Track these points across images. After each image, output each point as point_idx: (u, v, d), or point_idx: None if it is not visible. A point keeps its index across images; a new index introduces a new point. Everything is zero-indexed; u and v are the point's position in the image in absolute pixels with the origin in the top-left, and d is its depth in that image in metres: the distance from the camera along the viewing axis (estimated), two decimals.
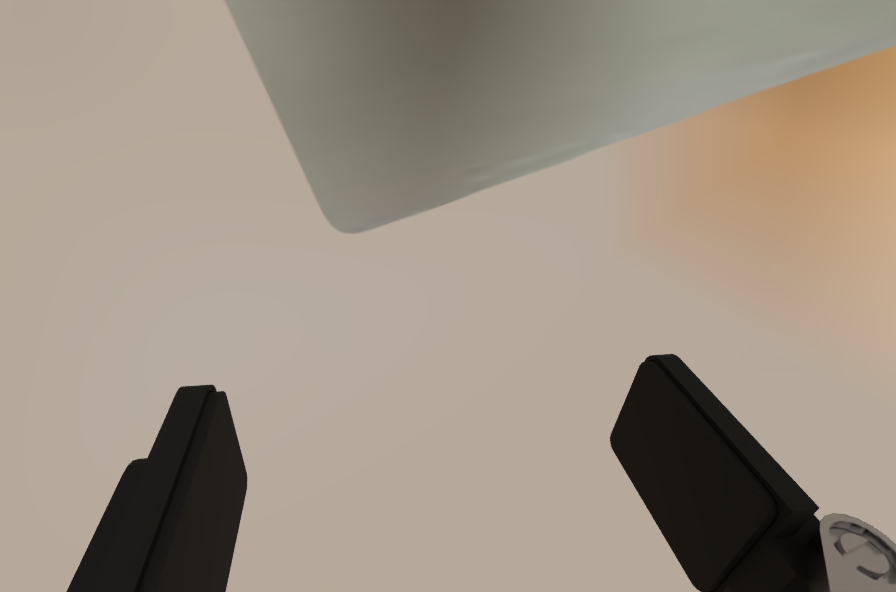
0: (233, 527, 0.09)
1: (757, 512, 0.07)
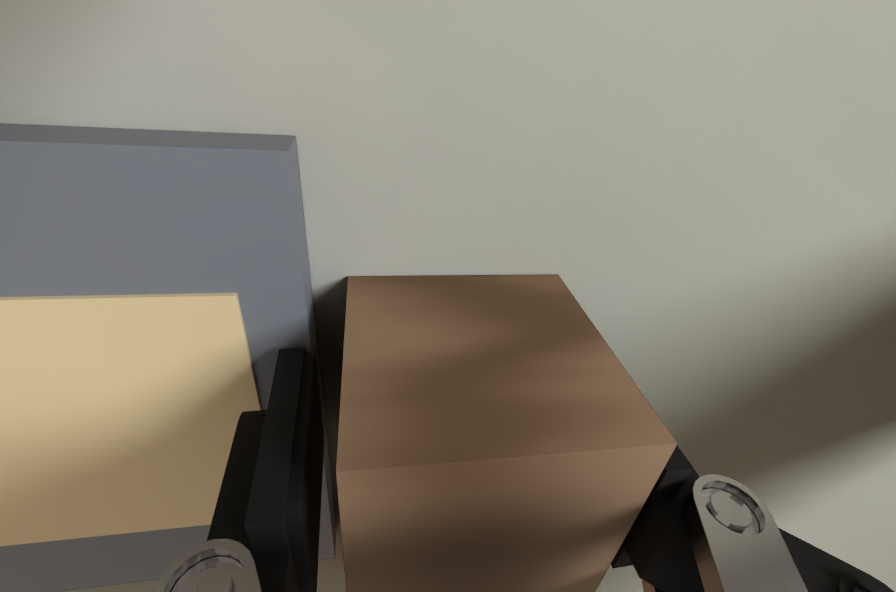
0: (320, 475, 0.10)
1: None
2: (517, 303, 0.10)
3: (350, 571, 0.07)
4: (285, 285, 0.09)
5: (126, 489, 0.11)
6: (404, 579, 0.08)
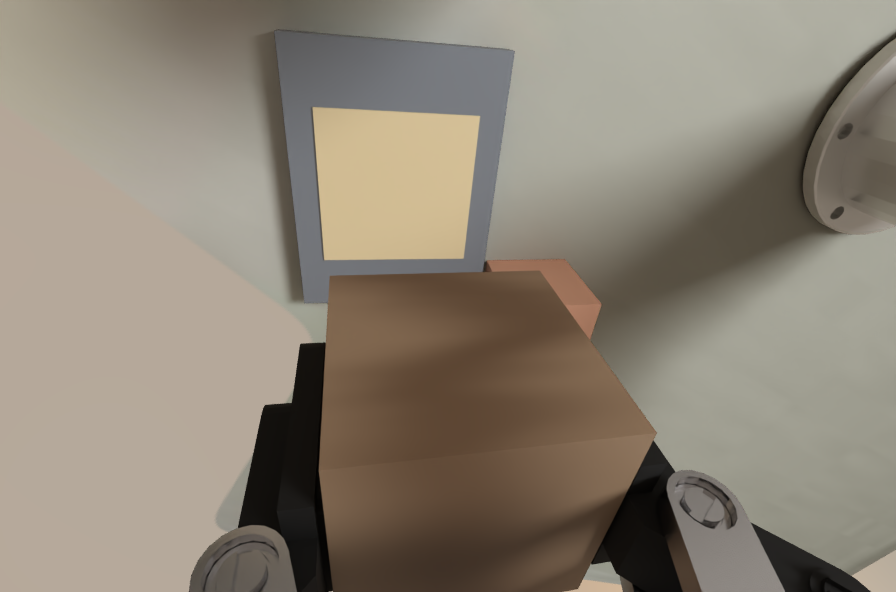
0: None
1: None
2: (499, 299, 0.10)
3: (336, 570, 0.07)
4: (498, 113, 0.21)
5: (402, 227, 0.23)
6: (391, 577, 0.08)
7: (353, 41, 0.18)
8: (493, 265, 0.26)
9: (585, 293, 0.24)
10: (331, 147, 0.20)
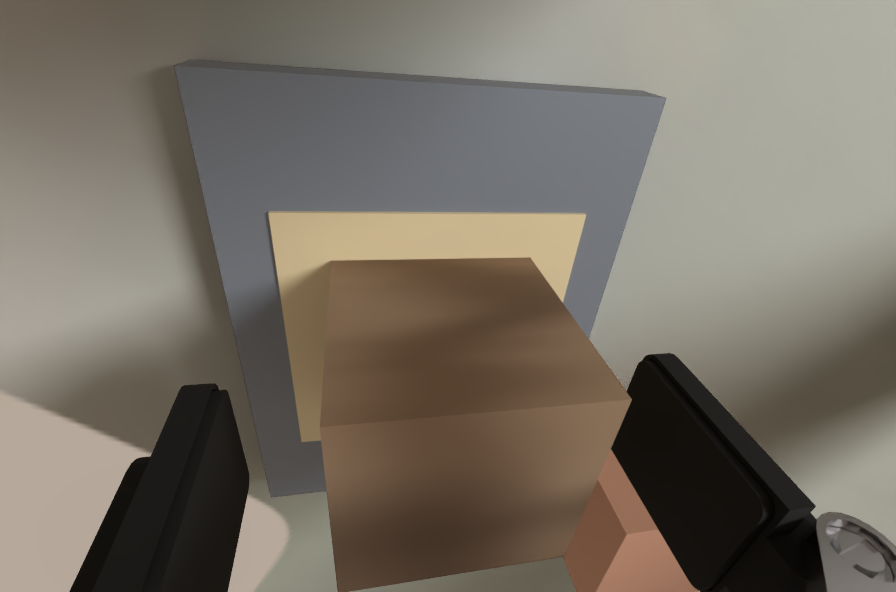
0: (235, 525, 0.09)
1: (754, 510, 0.07)
2: (491, 282, 0.10)
3: (336, 528, 0.08)
4: (619, 207, 0.11)
5: None
6: (387, 536, 0.08)
7: (348, 86, 0.09)
8: None
9: None
10: (309, 277, 0.11)
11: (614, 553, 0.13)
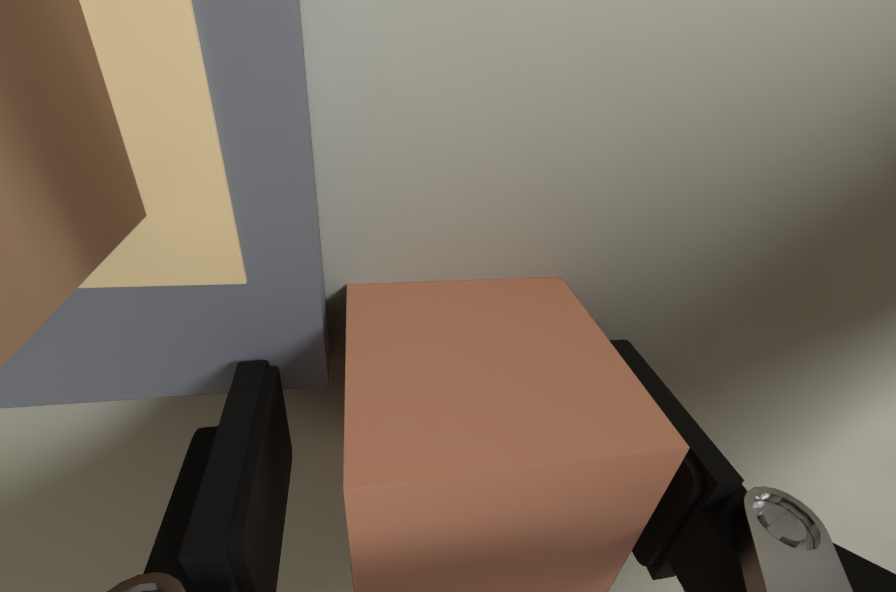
0: (284, 493, 0.09)
1: (688, 486, 0.08)
2: None
3: None
4: None
5: None
6: None
7: None
8: (359, 299, 0.09)
9: (627, 397, 0.07)
10: None
11: (348, 533, 0.06)
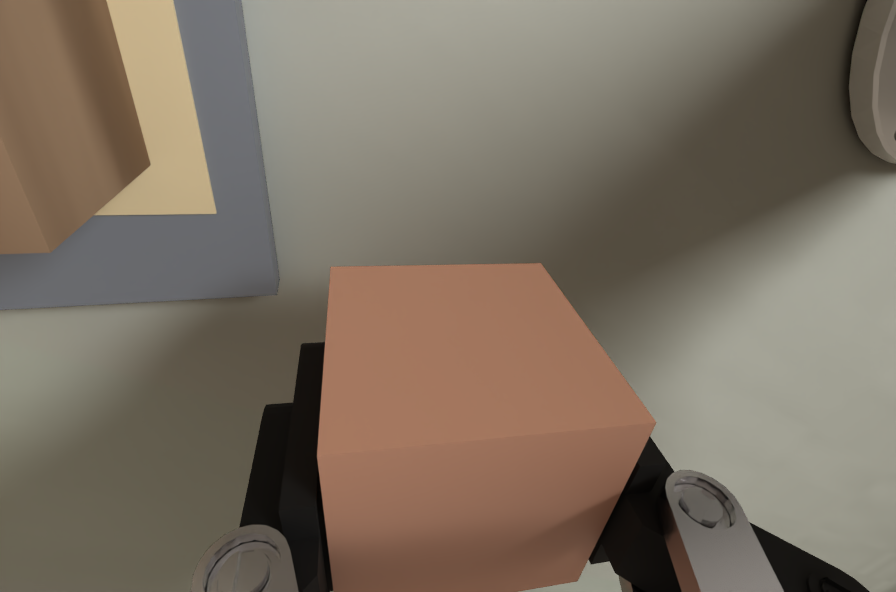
0: None
1: None
2: None
3: None
4: None
5: None
6: None
7: None
8: (341, 282, 0.09)
9: (598, 376, 0.08)
10: None
11: (323, 503, 0.06)
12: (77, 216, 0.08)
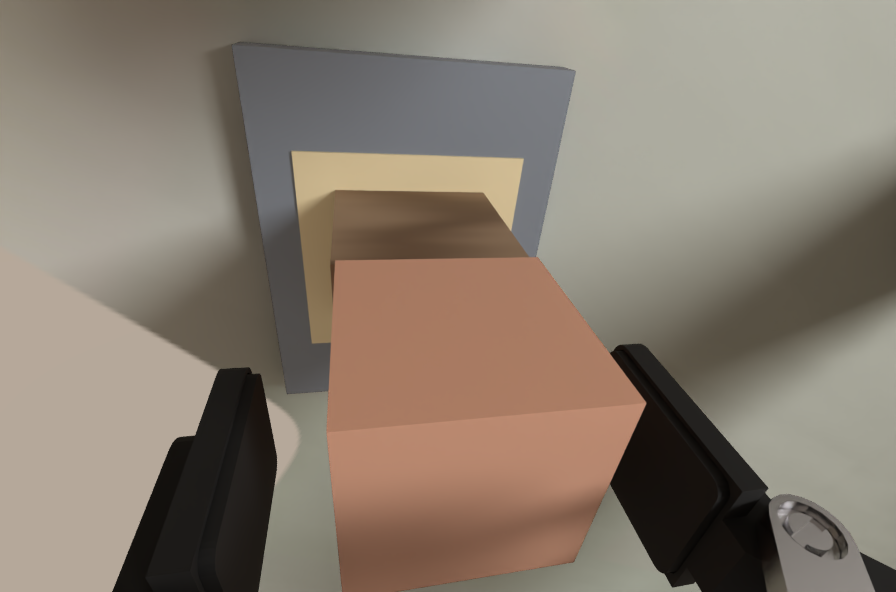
0: (267, 503, 0.09)
1: (711, 493, 0.08)
2: (450, 205, 0.14)
3: None
4: (548, 154, 0.15)
5: None
6: None
7: (348, 60, 0.13)
8: (346, 275, 0.10)
9: (592, 361, 0.08)
10: (319, 203, 0.15)
11: (331, 479, 0.07)
12: None
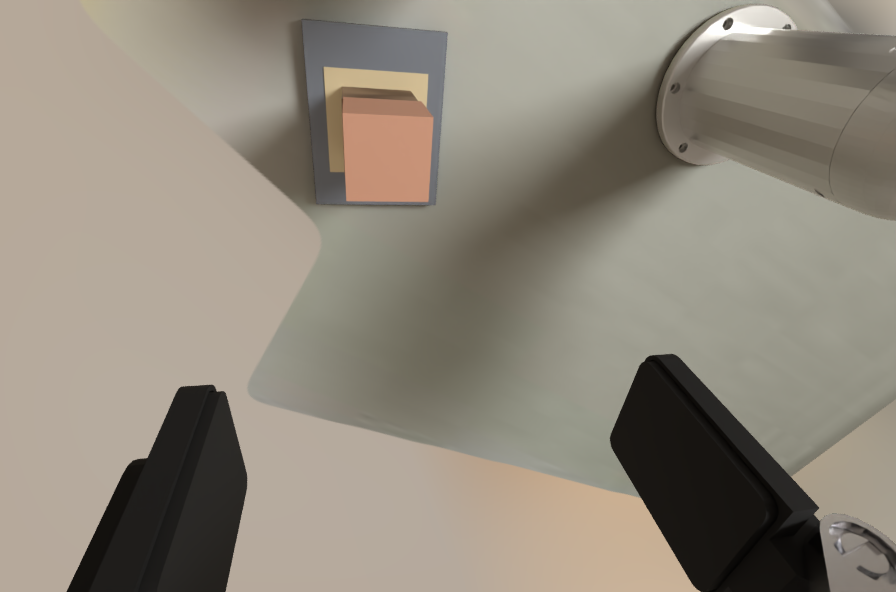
0: (233, 527, 0.09)
1: (757, 512, 0.07)
2: (393, 92, 0.32)
3: None
4: (440, 72, 0.33)
5: None
6: None
7: (348, 26, 0.30)
8: (347, 99, 0.27)
9: (423, 113, 0.26)
10: (335, 93, 0.32)
11: (343, 135, 0.25)
12: None
